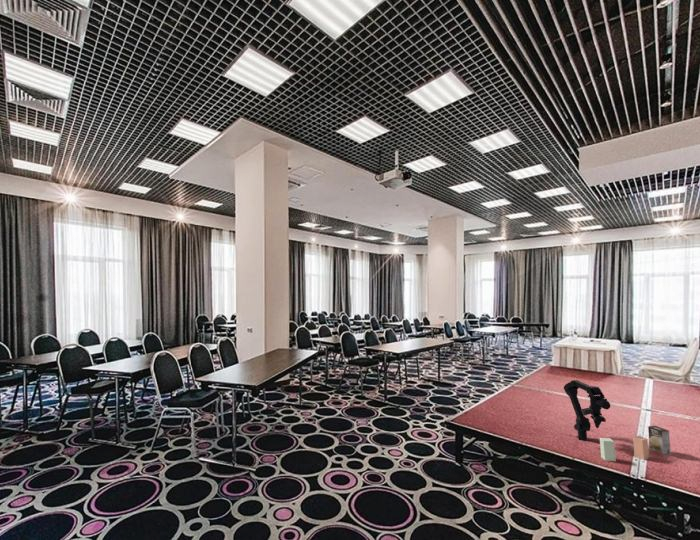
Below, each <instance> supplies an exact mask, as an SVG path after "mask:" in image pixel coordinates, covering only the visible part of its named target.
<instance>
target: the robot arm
mask: <svg viewBox="0 0 700 540" xmlns="http://www.w3.org/2000/svg"><path fill="white" fill-rule="evenodd" d="M579 389H581V390H583V391H585V392H586V394H588V395H587V397H588V398H589V406H588V407H585V408H582V407H581V404H580V400H579V398H578V393H579V392H578V390H579ZM563 390H564V392H565V394H566V395H567V396H568V397H569V399H570V402H571V404H572V408H573V410H574V413H575V417H576V418H575V424H574V425H573V429H574V430H576V431H577V435H576V438H577V439H578V440H581V441H590V440H589V438H588V432H590V430H591V427H592V426H591V422H590V419H589V418H588V417H587V415H588V416H589V417H590V418H591V419H592V420H593V422H594V427H595V429H599V427H600V425H601V424H602V422H604V423H606V421H607V419H606V418H605V417H604V416H603V414H602V411H601V410H602V409H604V410H609V409H610V408H611V403H610V402H609V401H608V398H606V397H605V394H604V393H603V392H602V389H601V388H600V387H599V386H596V385H589V384H586V383H584V382H582V381H580V380H578V379H577V380H576V379H574V380H571V381H570V382H567V383H565V384H564V386H563Z"/></svg>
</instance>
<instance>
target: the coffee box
mask: <svg viewBox="0 0 700 540" xmlns="http://www.w3.org/2000/svg"><path fill="white" fill-rule="evenodd" d="M647 429H648V430H647V431H648V442H649V443H648V445H649V449H650V450H652V451H655V452H657V453H659V454H662V455H668V456H672V453H671V441H670V438H671V437H670V430H669V429H665V428H663V427H660V426H658V425H650V426H647Z"/></svg>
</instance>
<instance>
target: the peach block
mask: <svg viewBox="0 0 700 540" xmlns="http://www.w3.org/2000/svg"><path fill="white" fill-rule="evenodd" d="M632 438H633V440H632V441H633V453H634V458H637V459H640V460H642V461H644V460H648V459H650V453H649V451H650V450H649V443H648V442H649V438H647V437H642V436H640V435H637V436H634V437H632Z"/></svg>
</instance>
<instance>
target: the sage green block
mask: <svg viewBox="0 0 700 540" xmlns="http://www.w3.org/2000/svg"><path fill="white" fill-rule="evenodd" d="M599 447H600V458H601V459H602V460H604V461H606V462H617V458H616V456H617V455H616V445H615V441H614V440H613V439H611V438H610V437H609V438H607V437H599Z"/></svg>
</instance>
